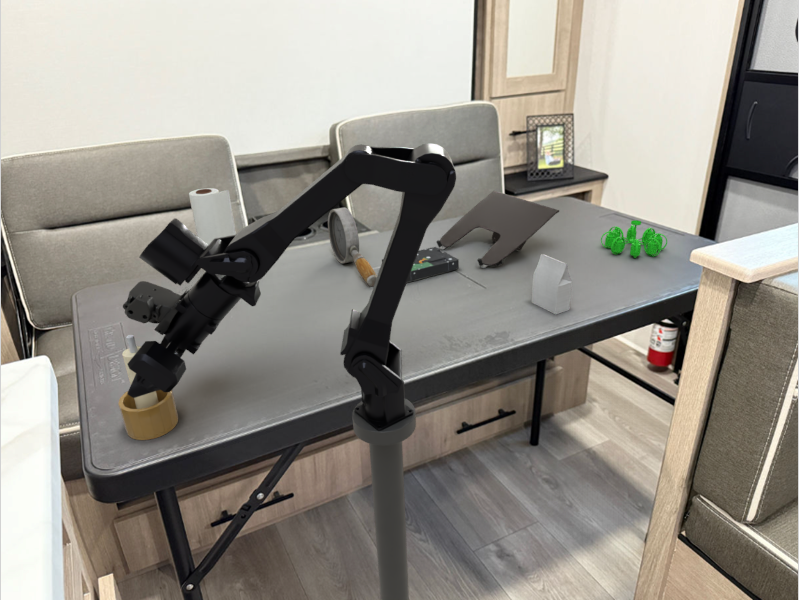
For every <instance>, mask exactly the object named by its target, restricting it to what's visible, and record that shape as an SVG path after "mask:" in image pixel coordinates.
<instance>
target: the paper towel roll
mask: <svg viewBox="0 0 799 600" xmlns="http://www.w3.org/2000/svg"><path fill="white" fill-rule="evenodd" d="M188 196H189V201H190V207H191V212H192V218H193V222H194V227H195V228H194V229H195V233H196V234H195V235H196V236H197V237H199V238H200V239H201V240H203V241H204V242H205V243H207V244H208V245H209V244H210V243H211V242H212V241H213V239H215V238H220V237H226V236H232V235H236V234H237V231H236V225H235V219H234V213H233V207H232V202H231V201H232V200H231V195H230V189H225V190H222V191H220V190H219V189H218V188H213V187H208V188H207V187H206V188H198V189H195V190H191V191H190V192H189V193H188ZM205 272H206V271H205V270H203V274H204V273H205Z"/></svg>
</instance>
